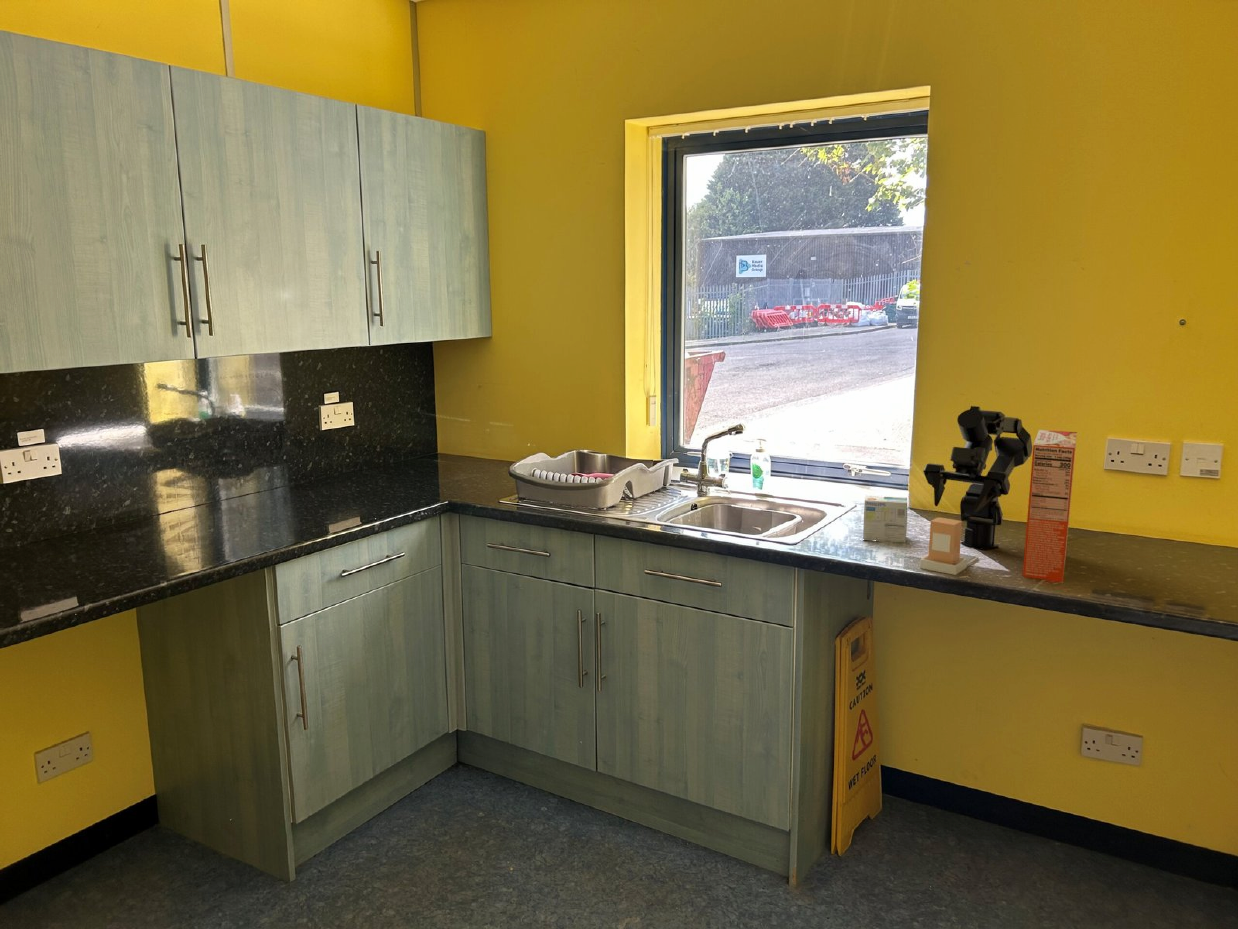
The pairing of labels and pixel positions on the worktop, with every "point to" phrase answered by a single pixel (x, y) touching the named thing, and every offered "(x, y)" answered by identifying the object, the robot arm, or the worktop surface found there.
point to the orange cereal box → (1049, 505)
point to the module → (945, 540)
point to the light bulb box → (885, 518)
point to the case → (943, 566)
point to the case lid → (969, 558)
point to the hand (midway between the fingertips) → (955, 508)
